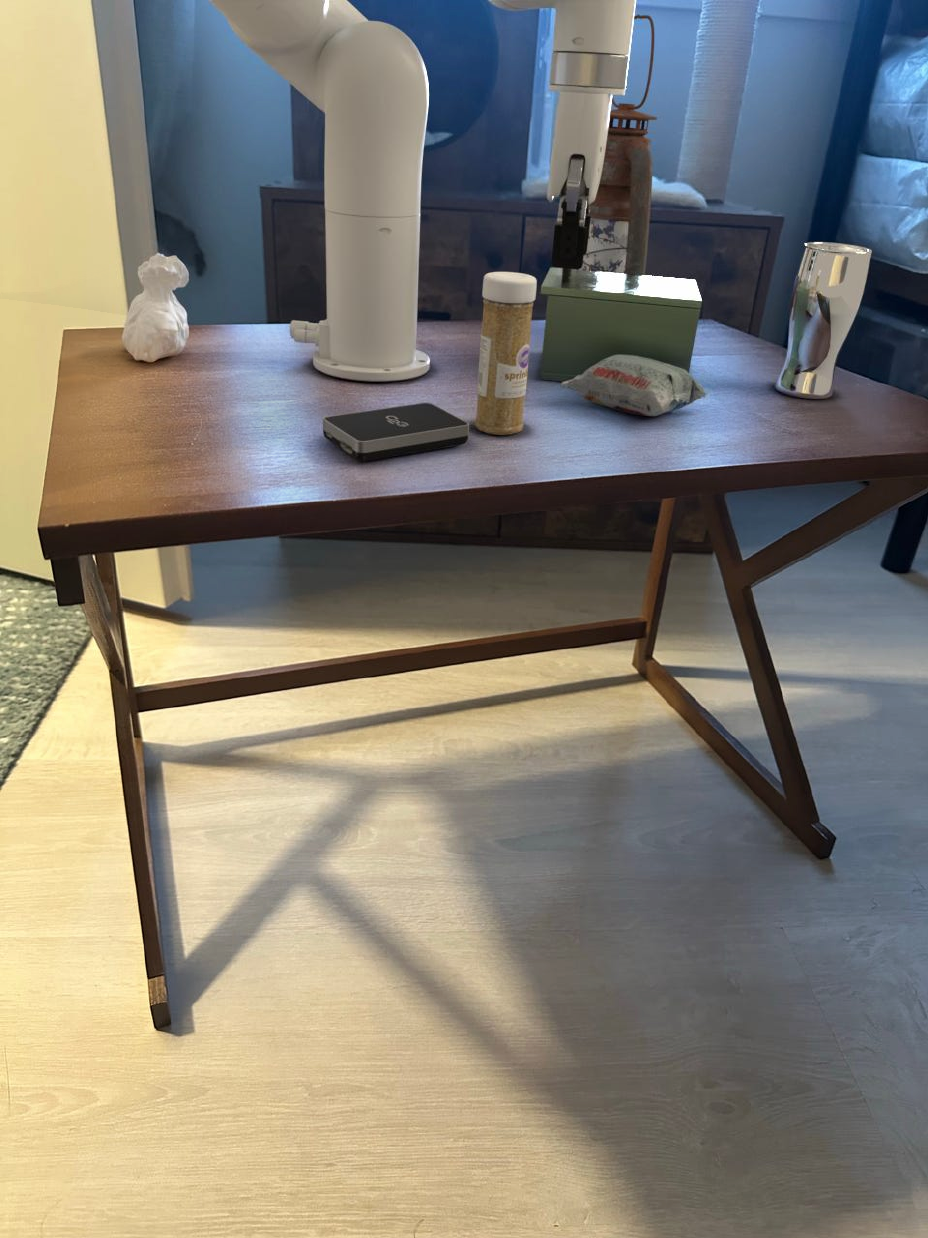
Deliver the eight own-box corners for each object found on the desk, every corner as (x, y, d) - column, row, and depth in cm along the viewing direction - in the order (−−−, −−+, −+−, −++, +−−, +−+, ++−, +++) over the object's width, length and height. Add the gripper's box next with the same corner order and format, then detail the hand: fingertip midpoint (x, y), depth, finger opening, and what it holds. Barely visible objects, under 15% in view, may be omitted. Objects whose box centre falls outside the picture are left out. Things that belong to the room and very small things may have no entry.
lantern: (588, 352, 112) (632, 6, 94) (532, 321, 125) (561, 12, 107) (666, 349, 115) (722, 16, 98) (603, 319, 128) (643, 20, 111)
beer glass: (846, 393, 103) (885, 249, 95) (819, 404, 98) (857, 254, 91) (788, 378, 107) (820, 239, 99) (759, 389, 102) (791, 244, 94)
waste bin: (539, 379, 100) (548, 295, 96) (548, 352, 111) (556, 275, 106) (685, 394, 99) (700, 309, 94) (680, 365, 109) (694, 287, 104)
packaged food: (660, 433, 86) (669, 381, 84) (557, 403, 93) (563, 353, 90) (704, 416, 92) (714, 366, 90) (604, 389, 99) (611, 342, 96)
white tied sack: (173, 389, 96) (233, 299, 95) (106, 348, 92) (168, 251, 90) (153, 360, 106) (208, 277, 104) (92, 320, 101) (148, 232, 99)
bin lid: (540, 293, 96) (545, 242, 93) (549, 274, 106) (554, 227, 104) (700, 308, 94) (710, 256, 92) (694, 287, 104) (702, 240, 102)
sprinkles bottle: (516, 439, 83) (530, 282, 76) (467, 431, 84) (477, 275, 77) (528, 424, 86) (542, 273, 80) (481, 417, 87) (492, 267, 81)
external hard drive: (320, 439, 80) (320, 417, 78) (429, 423, 85) (430, 401, 84) (359, 466, 75) (359, 442, 74) (471, 446, 80) (473, 424, 79)
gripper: (556, 75, 99) (541, 246, 107) (542, 72, 84) (526, 270, 93) (627, 79, 98) (606, 251, 107) (625, 77, 83) (601, 277, 92)
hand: (569, 260), depth 100 cm, fingers open, 9 cm apart
